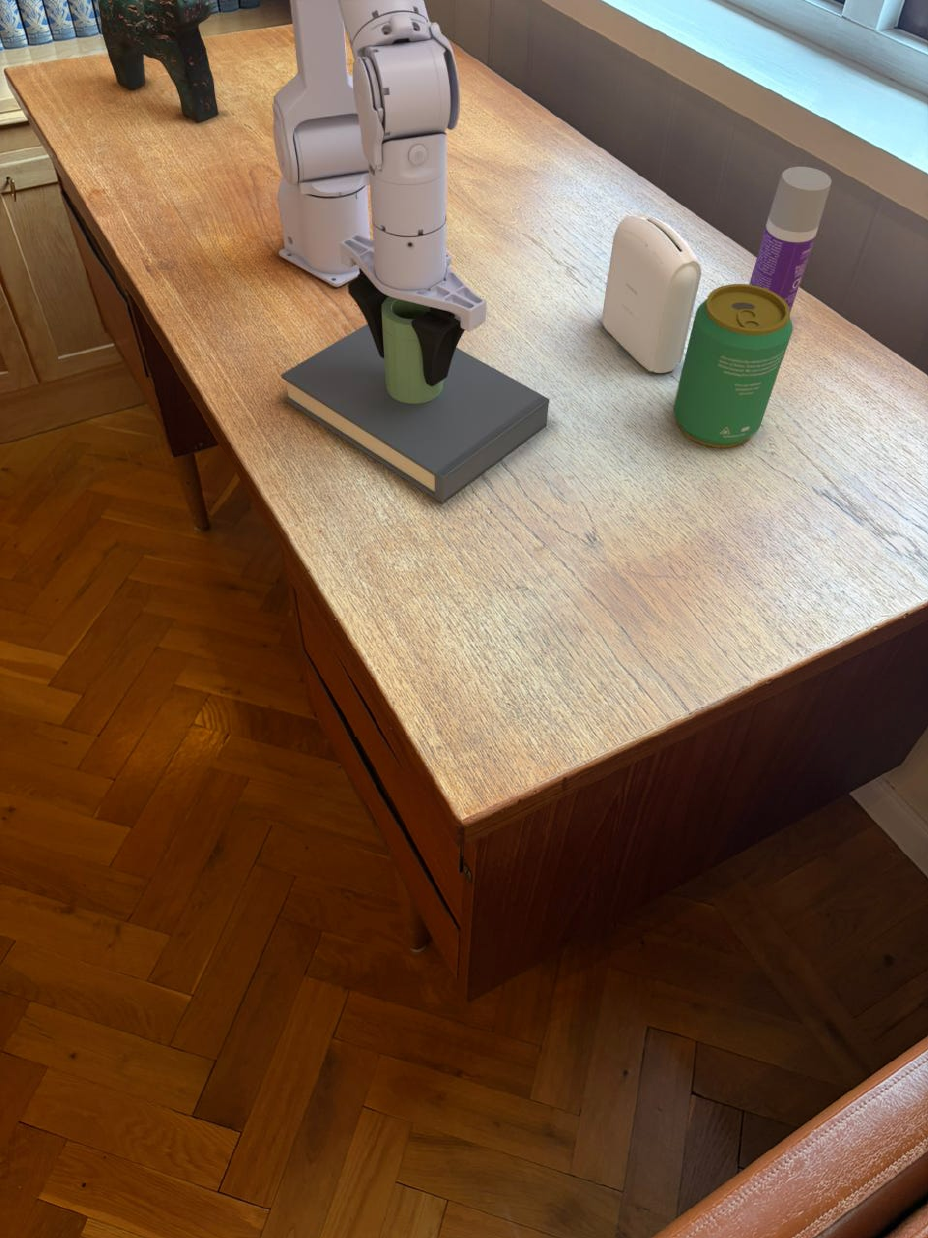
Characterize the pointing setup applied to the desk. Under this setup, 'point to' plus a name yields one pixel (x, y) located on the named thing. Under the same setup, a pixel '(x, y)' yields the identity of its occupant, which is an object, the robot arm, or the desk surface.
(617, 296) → the photo printer
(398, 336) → the jar
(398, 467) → the book
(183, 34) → the ceramic cat
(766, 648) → the desk surface
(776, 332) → the beverage can
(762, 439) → the desk surface
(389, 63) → the robot arm
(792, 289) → the container
